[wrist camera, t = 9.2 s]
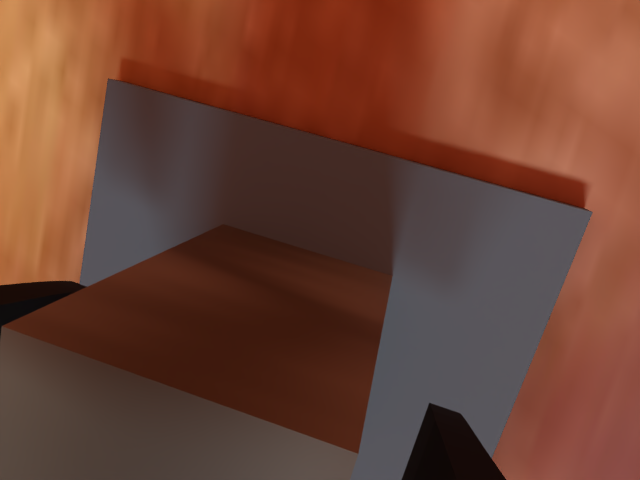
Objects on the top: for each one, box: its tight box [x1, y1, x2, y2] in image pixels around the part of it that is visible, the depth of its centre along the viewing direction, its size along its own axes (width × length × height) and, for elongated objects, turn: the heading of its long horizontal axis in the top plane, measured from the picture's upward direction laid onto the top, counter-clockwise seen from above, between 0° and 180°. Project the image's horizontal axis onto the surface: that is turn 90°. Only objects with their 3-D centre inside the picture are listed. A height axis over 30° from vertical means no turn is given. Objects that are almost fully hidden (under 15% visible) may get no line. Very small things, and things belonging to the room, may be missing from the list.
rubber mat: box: [80, 79, 592, 480], centre depth 13 cm, size 12×10×1 cm
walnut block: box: [0, 224, 393, 480], centre depth 10 cm, size 4×4×7 cm
